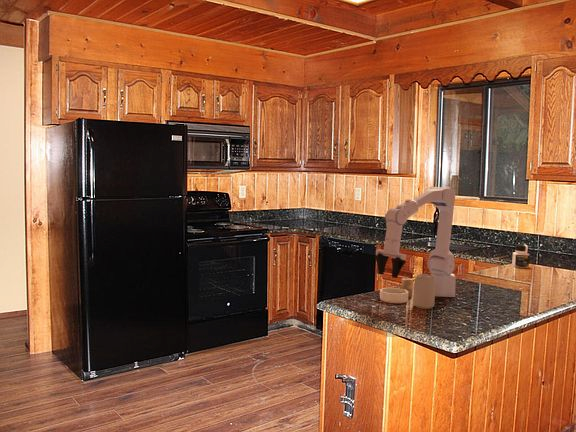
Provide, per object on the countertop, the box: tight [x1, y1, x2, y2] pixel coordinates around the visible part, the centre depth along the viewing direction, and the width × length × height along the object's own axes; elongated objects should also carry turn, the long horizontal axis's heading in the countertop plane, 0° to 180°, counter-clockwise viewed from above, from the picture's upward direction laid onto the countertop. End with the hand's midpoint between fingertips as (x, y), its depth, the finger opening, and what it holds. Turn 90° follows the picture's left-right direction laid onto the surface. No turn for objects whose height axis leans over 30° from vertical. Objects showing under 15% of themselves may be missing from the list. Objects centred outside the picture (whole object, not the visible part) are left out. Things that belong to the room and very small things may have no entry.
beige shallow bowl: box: [379, 287, 409, 304], centre depth 214 cm, size 10×10×4 cm
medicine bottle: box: [511, 243, 531, 269], centre depth 295 cm, size 7×7×12 cm
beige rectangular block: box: [400, 277, 414, 298], centre depth 221 cm, size 4×2×7 cm, turn 86°
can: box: [413, 273, 436, 310], centre depth 204 cm, size 8×8×12 cm
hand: (387, 275), depth 208 cm, fingers open, 7 cm apart
